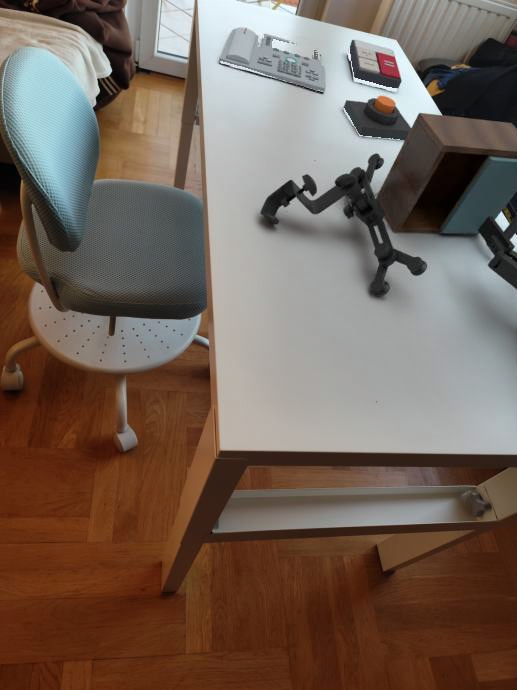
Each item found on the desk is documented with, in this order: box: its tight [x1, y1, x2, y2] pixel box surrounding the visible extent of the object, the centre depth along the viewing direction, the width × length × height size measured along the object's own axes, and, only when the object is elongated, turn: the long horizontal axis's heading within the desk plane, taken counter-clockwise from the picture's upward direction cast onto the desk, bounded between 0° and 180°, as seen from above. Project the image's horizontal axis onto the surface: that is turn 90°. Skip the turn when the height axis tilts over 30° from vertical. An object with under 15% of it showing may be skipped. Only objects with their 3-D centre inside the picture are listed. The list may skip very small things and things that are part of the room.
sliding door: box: [441, 157, 517, 240], centre depth 77 cm, size 9×7×14 cm
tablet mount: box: [260, 152, 428, 297], centre depth 73 cm, size 27×14×17 cm
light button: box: [374, 95, 397, 114], centre depth 99 cm, size 4×4×2 cm
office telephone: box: [218, 27, 327, 93], centre depth 109 cm, size 23×3×20 cm
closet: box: [375, 112, 517, 235], centre depth 80 cm, size 18×8×16 cm, turn 104°
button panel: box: [349, 39, 402, 89], centre depth 117 cm, size 11×4×15 cm
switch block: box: [343, 97, 412, 141], centre depth 101 cm, size 12×10×4 cm
